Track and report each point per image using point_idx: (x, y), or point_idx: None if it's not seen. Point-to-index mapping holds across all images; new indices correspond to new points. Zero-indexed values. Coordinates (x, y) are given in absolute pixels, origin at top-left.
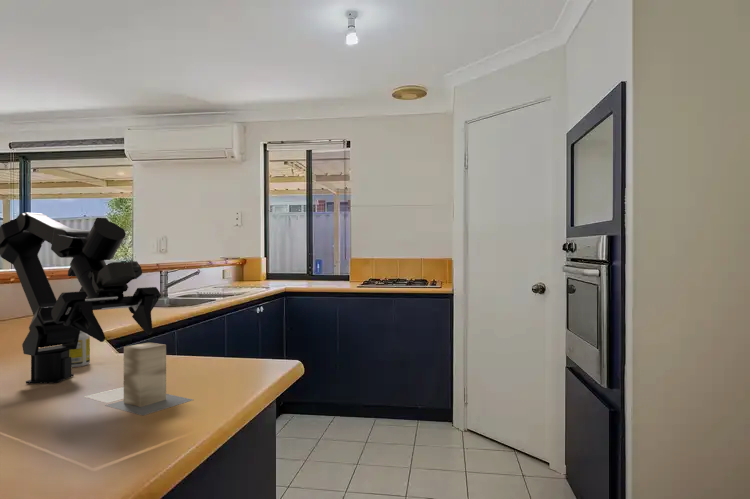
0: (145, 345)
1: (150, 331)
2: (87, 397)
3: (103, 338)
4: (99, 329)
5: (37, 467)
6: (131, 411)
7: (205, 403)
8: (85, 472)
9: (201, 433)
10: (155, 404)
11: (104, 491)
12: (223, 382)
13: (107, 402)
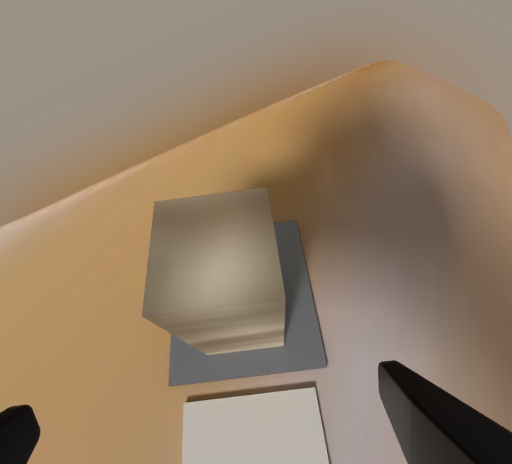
0: (207, 248)
1: (28, 408)
2: None
3: (392, 360)
4: (450, 408)
5: (476, 145)
6: (300, 260)
7: None
8: (422, 104)
9: (273, 114)
10: None
11: (412, 67)
12: (13, 327)
13: (312, 392)
